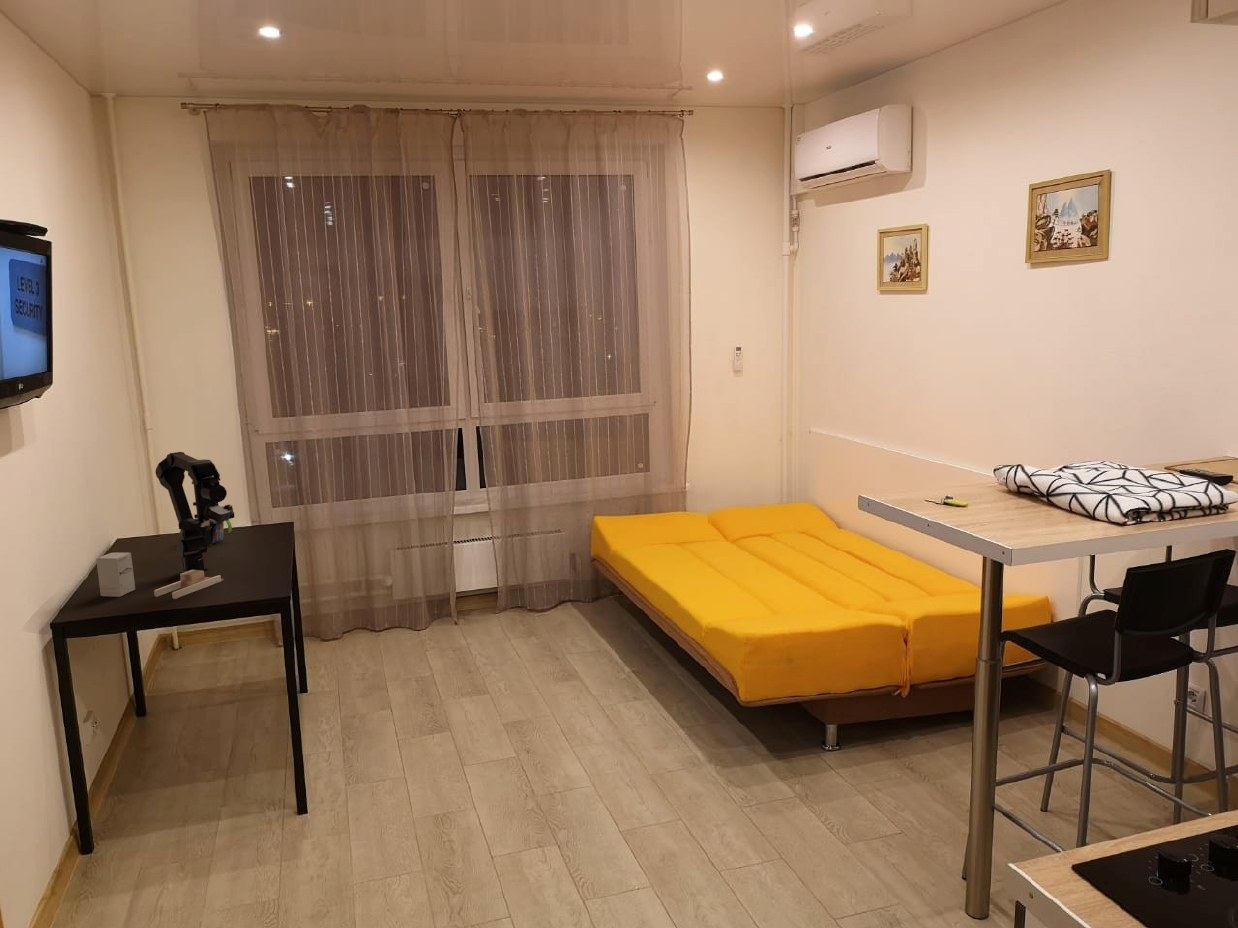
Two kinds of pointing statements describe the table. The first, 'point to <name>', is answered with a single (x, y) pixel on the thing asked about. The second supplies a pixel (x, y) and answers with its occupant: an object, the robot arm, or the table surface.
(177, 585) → the channel
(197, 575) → the pine block
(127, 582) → the supplement box
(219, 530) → the snack cup
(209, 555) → the table surface
